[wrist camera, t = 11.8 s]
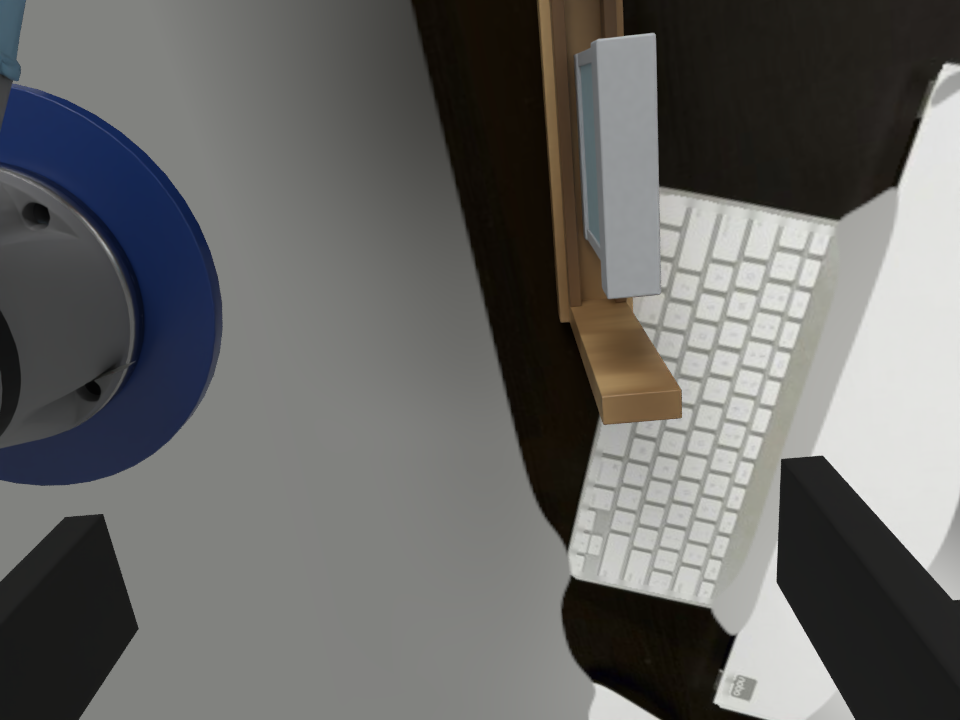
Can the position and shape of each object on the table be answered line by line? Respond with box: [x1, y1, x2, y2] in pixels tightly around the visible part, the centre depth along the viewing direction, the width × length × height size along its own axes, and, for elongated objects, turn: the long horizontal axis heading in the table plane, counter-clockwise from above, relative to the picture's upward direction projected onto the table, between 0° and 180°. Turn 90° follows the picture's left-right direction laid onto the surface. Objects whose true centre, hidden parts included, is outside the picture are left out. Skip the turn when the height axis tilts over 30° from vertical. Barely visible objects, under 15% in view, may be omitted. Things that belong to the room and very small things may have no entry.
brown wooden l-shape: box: [537, 0, 682, 425], centre depth 32 cm, size 4×22×15 cm, turn 6°
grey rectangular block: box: [574, 33, 661, 299], centre depth 32 cm, size 2×9×12 cm, turn 6°
